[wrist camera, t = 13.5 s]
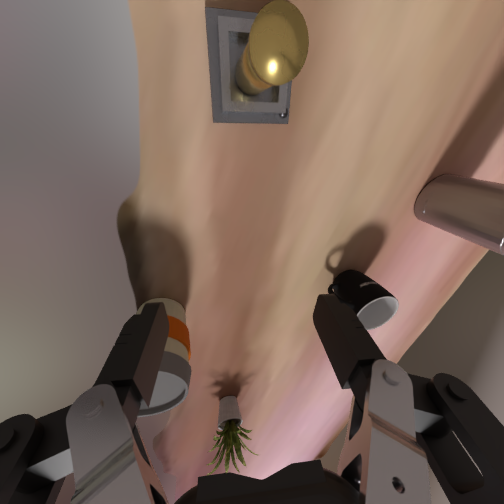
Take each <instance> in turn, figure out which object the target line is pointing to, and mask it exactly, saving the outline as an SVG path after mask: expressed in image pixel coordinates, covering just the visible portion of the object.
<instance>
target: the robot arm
mask: <svg viewBox="0 0 504 504" xmlns="http://www.w3.org/2000/svg"><path fill="white" fill-rule="evenodd" d="M414 212H415V216H416V217H417V218H418V219H419V220H421V221H423V222H426V223H428V224H431V225H433V226H435V227H437V228H440V229H442V230H444V231H447V232H449V233H452V234H454V235H456V236H459V237H461V238H463V239H466V240H468V241H471V242H473V243H475V244H478V245H480V246H483V247H485V248H487V249H490V250H492V251H494V252H497V253H499V254H502V255H504V184H500V183H495V182H490V181H484V180H479V179H474V178H468V177H463V176H457V175H452V174H445V175H441V176H439V177H437V178H435V179H434V180H432V181H431V182H430V183H429V184H428V185H427V186H426V187H425V188H424V189H423V190H422V192H421V193H420V195H419V196H418V198H417V200H416V203H415V208H414ZM313 322H314V325H315V328H316V330H317V332H318V335H319V337H320V339H321V342H322V344H323V346H324V348H325V351H326V353H327V355H328V358H329V360H330V362H331V365H332V367H333V369H334V372H335V374H336V376H337V379H338V381H339V383H340V385H341V388H342V389H349V388H351V390H352V392H353V394H354V395H353V398H352V403H351V409H350V415H349V421H348V427H347V434H346V439H345V444H344V447H343V450H342V452H341V455H340V459H339V463H338V469H337V474H336V473H334V472H332V471H330V470H328V469H325V468H322V464H321V461H320V460H314V461H307V462H300V463H293V464H290V465H288V466H287V467H285V468H283V469H281V470H280V471H278V472H276V473H274V474H273V475H271V476H269V477H267V478H266V479H263V480H259V479H255V478H251V477H247V476H242V475H238V474H234V473H222V474H215V475H208V476H201V477H198V485H197V486H195V487H193V488H191V489H190V490H189V491H187V492H186V493H185V494H183V495H182V496H181V497H180V498H179V499H178V500H177V501H176V502H175V503H174V504H431V494H430V483H429V472H428V463H429V465H430V467H431V469H432V471H433V473H434V474H435V476H436V478H437V480H438V482H439V483H440V485H441V487H442V489H443V491H444V493H445V494H446V496H447V498H448V500H449V502H450V504H504V426H503V425H502V424H501V423H500V422H499V420H498V419H497V418H496V417H495V416H494V415H493V413H492V412H491V411H490V410H489V409H488V408H487V407H486V405H485V404H484V403H483V402H482V401H481V400H480V399H479V397H478V396H477V395H476V394H475V393H474V392H473V390H472V389H471V388H469V387H468V386H467V385H466V384H465V383H463V382H462V381H461V380H459V379H458V378H456V377H454V376H452V375H449V374H445V373H439V374H436V375H435V376H434V377H433V378H432V379H428V378H424V377H420V376H415V375H411V374H408V373H406V372H405V371H404V370H403V369H402V368H401V367H400V366H398V365H397V364H395V363H394V362H391V361H389V360H387V359H386V358H385V357H384V355H383V354H382V352H381V351H380V349H379V348H378V346H377V345H376V343H375V342H374V340H373V339H372V337H371V336H370V334H369V333H368V331H367V330H366V329H365V328H364V325H363V324H362V322H361V321H359V318H358V317H357V315H356V314H355V312H354V311H353V310H352V309H351V308H350V307H349V306H347V305H346V304H345V303H340V301H339V300H338V298H337V297H336V295H335V294H320V295H319V296H318V298H317V302H316V305H315V309H314V312H313ZM168 334H169V320H168V317H167V313H166V309H165V305H164V303H163V302H153V303H146V304H145V305H144V307H143V309H142V312H141V314H136V315H133V316H132V317H131V318H130V319H129V320H128V321H127V322H126V323H125V324H124V326H123V328H122V330H121V332H120V335H119V337H118V339H117V340H116V343H115V346H114V347H113V348H112V350H111V352H110V354H109V356H108V358H107V360H106V362H105V364H104V367H103V368H102V370H101V372H100V374H99V376H98V378H97V380H96V382H95V384H94V385H93V387H92V388H90V389H88V390H87V391H85V392H84V393H83V394H81V395H80V396H79V397H78V398H77V399H76V401H75V402H74V403H73V404H72V405H70V406H68V407H65V408H63V409H60V410H58V411H56V412H53V413H50V414H48V415H46V416H43V417H40V418H38V419H35V418H34V417H33V416H31V415H29V414H21V415H17V416H14V417H11V418H9V419H7V420H5V421H4V422H2V423H0V504H55V502H56V499H57V497H58V494H59V492H60V490H61V487H62V485H63V482H64V480H65V477H66V475H68V474H70V473H72V472H74V478H75V485H76V491H75V494H74V495H73V497H72V499H71V504H169V503H168V500H167V498H166V495H165V492H164V490H163V487H162V485H161V483H160V480H159V479H158V476H157V474H156V472H155V470H154V468H153V465H152V463H151V460H150V458H149V455H148V452H147V450H146V447H145V445H144V442H143V439H142V437H141V434H140V431H139V429H138V426H137V424H136V419H137V416H138V413H139V409H148V408H149V405H150V401H151V398H152V394H153V390H154V386H155V383H156V379H157V375H158V372H159V368H160V364H161V360H162V357H163V353H164V349H165V346H166V342H167V338H168ZM452 431H454V432H455V434H456V435H457V437H458V438H459V440H460V441H461V443H462V444H463V446H464V447H465V448H466V450H467V451H468V453H469V454H470V456H471V457H472V459H473V460H474V462H475V463H476V464H477V466H478V467H479V469H480V471H481V473H482V475H483V476H482V475H481V473H480V472H479V471H478V469H477V467H476V466H475V465H474V463H473V462H472V461H471V459H470V457H469V456H468V454H467V453H466V451H465V450H464V448H463V447H462V445H461V444H460V443H459V441H458V440H457V438H456V437H455V435H454V434H453V432H452ZM417 443H418V444H417Z"/></svg>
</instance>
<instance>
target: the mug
mask: <svg viewBox="0 0 504 504" xmlns="http://www.w3.org/2000/svg"><path fill="white" fill-rule="evenodd" d="M332 289H334V292H333V290H332ZM328 293H329V294H335V295H336V297H337V298H338V300H339V301H340V303H345V304H346V305H347V306H349V307H350V308H351V309H352V310H353V311H354V312H355V314H356V315H357V317H358V318H359V321H361V322H362V324H363V325H364V328H365V329H366V330H371V329H375V328H378V327H380V326H382V325H383V324H385V323H386V322H388V321H389V320H390V319H391V318H392V317H393V316H394V315H395V313H396V312H397V310H398V306H399V303H398V300H397V299H396V298H395V297H394V296H393V295H392V294H391V293H389V292H388V291H387V290H386V289H385V288H383V287H382V286H381V285H379V284H378V283H376V282H375V281H374V280H372V279H371V278H369V277H368V276H366V275H364V274H363V273H361V272H358V271H355V270H348V271H345V272H343V273H341V274H340V275H338V276H337V278H336V279H335V281H334V283H333V284H331V285H330V286H329V288H328Z"/></svg>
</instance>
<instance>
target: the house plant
mask: <svg viewBox="0 0 504 504" xmlns="http://www.w3.org/2000/svg"><path fill="white" fill-rule="evenodd" d="M241 424H242V417H241V414H240V410H239V406H238V403H237V399H236V397H235V396H226V397H224V398H222V399H221V400H220V405H219V417H218V428H219V429H220V430H223V431H222V432H218V431H216V432H217V434H218V435H220V434H221V435H220V437H215V436H214V440H215V441H216V440H218V441H217V443H216V445H215V446H214V445H213V446H214V447H213V449H212V450H214V449H215V448H216V447H220V448H219V450H218V453H217V455H216V457H215V458H214V460H213V461H212V462H211V463H210V464H207V465H211V464H214V463H215V462H216V461H217V460H216V458H217V456H218V454H219V452H220V449H221V446H222V445H223V444H224V446H223V447H224V448H222V450H223V451H221V453H222V454H221V453H220V455H221V457H220V455H219V457H220V459H219V461H218V463H217V465H216V466H215V468H214V469H213V471H212V472H211V473H209V474H208V475H210V474H212V473H213V472H214V471H215V470H216V469H217V468H218V466H219V465H220V463H221V461H222V459H223V455H224V452H225V449H226V453H225V455H226V457H225V459H224V460H225V464H224V465H225V469H226V473H227V472H228V468H229V460H230V453H231V457H232V462H233V464H234V466H235V468H236V470H237V471H238V472H239V469H238V468H237V465H236V463H235V458H234V452H233V445H234V447H235V451H236V454H237V457H238V459H239V460H240V461H241V462H242V464H243V465H244V466H246V464H245V461H244V458H243V455H242V452H241V446H242V447H243V445H244V443H243V442H242V440H241V439H240V438H239V436H238V435H237V433H239V434H240V435H241V436H242V437H244V438H246V439H248V440H251V439H250V438H248V436H247V435H245V434H244V433H242V432H241V430H242V431H244V432H246V433H249V432H251V431H252V430H246V429H243V428H241V427H240V425H241ZM238 426H239V428H240V429H239V428H238ZM223 435H224V436H223ZM222 436H223V439H222V442H221V443H220V444H219V445H218V443H219V441H220V439H221V437H222ZM239 439H240V440H239ZM240 441H241V442H242V444H243V445H242V444H241V443H240ZM224 442H225V443H224ZM217 445H218V446H217ZM226 445H227V447H226ZM244 446H245V445H244ZM245 447H246V446H245ZM243 448H244V447H243ZM244 449H245V448H244ZM246 449H248V448H247V447H246ZM212 450H211V451H212ZM248 450H249V449H248ZM249 451H250V450H249ZM209 452H210V451H209ZM250 452H251V453H253V452H252V451H250ZM207 453H208V452H207ZM253 454H255V453H253ZM255 455H257V454H255ZM236 459H237V458H236ZM215 460H216V461H215ZM214 461H215V462H214ZM207 465H206V466H207ZM239 473H240V472H239ZM206 476H207V475H206Z"/></svg>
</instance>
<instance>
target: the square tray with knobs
mask: <svg viewBox="0 0 504 504" xmlns="http://www.w3.org/2000/svg"><path fill="white" fill-rule="evenodd" d="M257 14H258V13H254V12H245V11H236V10H227V9H218V8H210V7H205V16H206V30H207V44H208V57H209V71H210V85H211V98H212V112H213V123H268V124H288V119H289V107H290V95H291V83H292V80H291V81H289V82H288V83H286V84H283V85H280V86H272V87H270V88H268V89H266V90H265V91H263V92H261V93H259V94H257V95H253V96H251V95H247V94H245V93H244V92H243V91H242V90H241V89H240V88H239V86H238V84H237V81H236V75H235V71H236V65H237V62H238V60H239V58H240V56H241V55H242V53H243V51H244V49H245V47H246V45H247V43H248V38H249V33H250V29H251V27H252V24H253V22H254V20H255V18H256V16H257Z"/></svg>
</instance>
